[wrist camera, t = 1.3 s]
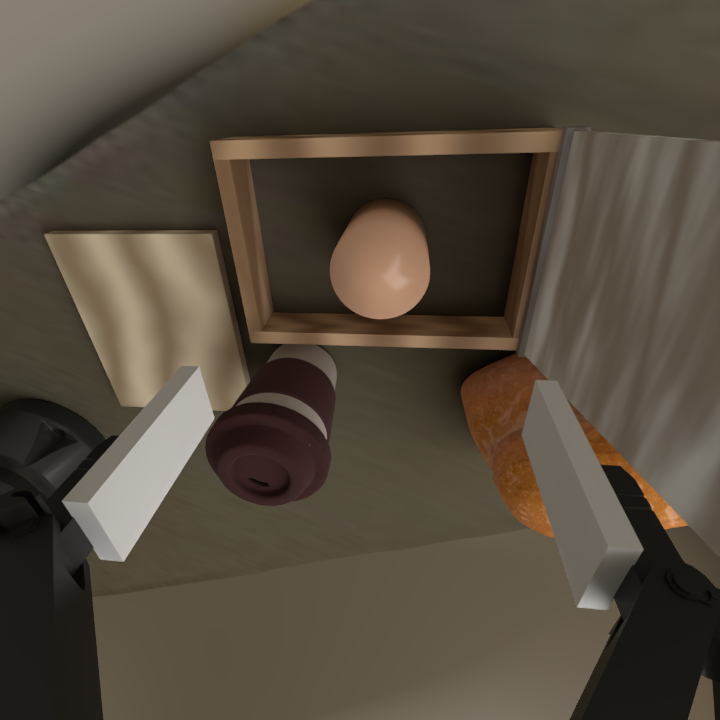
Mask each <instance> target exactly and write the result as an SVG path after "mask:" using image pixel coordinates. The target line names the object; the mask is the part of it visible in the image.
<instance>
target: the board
mask: <svg viewBox="0 0 720 720" xmlns="http://www.w3.org/2000/svg"><path fill="white" fill-rule="evenodd" d="M44 236H45V238H46V240H47V242H48V245H49V247H50V249H51V251H52V253H53V256H54V258H55V260H56V262H57V265H58V267H59V269H60V271H61V273H62V276H63V278H64V280H65V282H66V284H67V287H68V289H69V291H70V293H71V296H72V298H73V300H74V302H75V304H76V307H77V309H78V311H79V313H80V316H81V318H82V320H83V322H84V324H85V327H86V329H87V331H88V333H89V336H90V338H91V340H92V342H93V344H94V347H95V349H96V351H97V353H98V355H99V358H100V360H101V362H102V364H103V367H104V369H105V371H106V373H107V375H108V378H109V380H110V382H111V384H112V387H113V389H114V391H115V393H116V395H117V398H118V400H119V402H120V404H121V406H132V407H145V406H146V405H147V404H148V403H149V402H150V401H151V400H152V399H153V397H154V396H155V395H156V394H157V393H158V392H159V391H160V389H161V388H162V387H163V386H164V385H165V384H166V383H167V382H168V380H169V379H170V378H171V377H172V376H173V375H174V374H175V373H176V371H177V370H178V369H179V368H180V367H181V366H199V368H200V371H201V374H202V378H203V381H204V384H205V388H206V391H207V394H208V398H209V401H210V405H211V408H212V410H216V411H227V410H229V409H230V408H232V406H233V405H234V403H235V402H236V400H237V399H238V398H239V396H240V395H241V393H242V392H243V391H244V389H245V388H246V387H247V385H248V384H249V382H250V377H249V372H248V368H247V363H246V359H245V354H244V350H243V345H242V341H241V336H240V331H239V327H238V322H237V318H236V313H235V309H234V304H233V299H232V295H231V290H230V286H229V281H228V277H227V272H226V267H225V263H224V258H223V254H222V249H221V245H220V240H219V236H218V231H217V230H109V231H51V232H49V233H46V234H44Z"/></svg>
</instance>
